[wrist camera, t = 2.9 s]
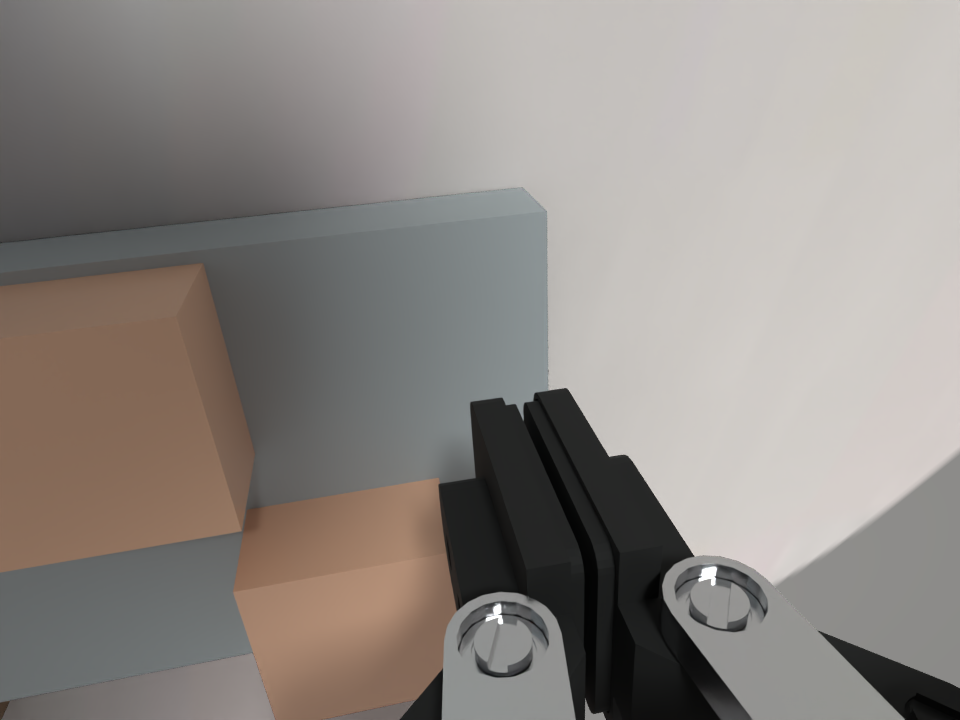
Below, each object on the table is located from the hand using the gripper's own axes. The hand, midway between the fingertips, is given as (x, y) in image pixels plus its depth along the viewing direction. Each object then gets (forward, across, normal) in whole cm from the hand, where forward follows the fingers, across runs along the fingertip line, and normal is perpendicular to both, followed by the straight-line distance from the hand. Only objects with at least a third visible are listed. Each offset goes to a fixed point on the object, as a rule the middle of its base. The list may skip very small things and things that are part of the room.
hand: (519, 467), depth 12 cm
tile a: (+4, +8, -1) cm, 8 cm away
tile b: (+4, +4, +5) cm, 7 cm away
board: (+6, +6, +2) cm, 9 cm away
